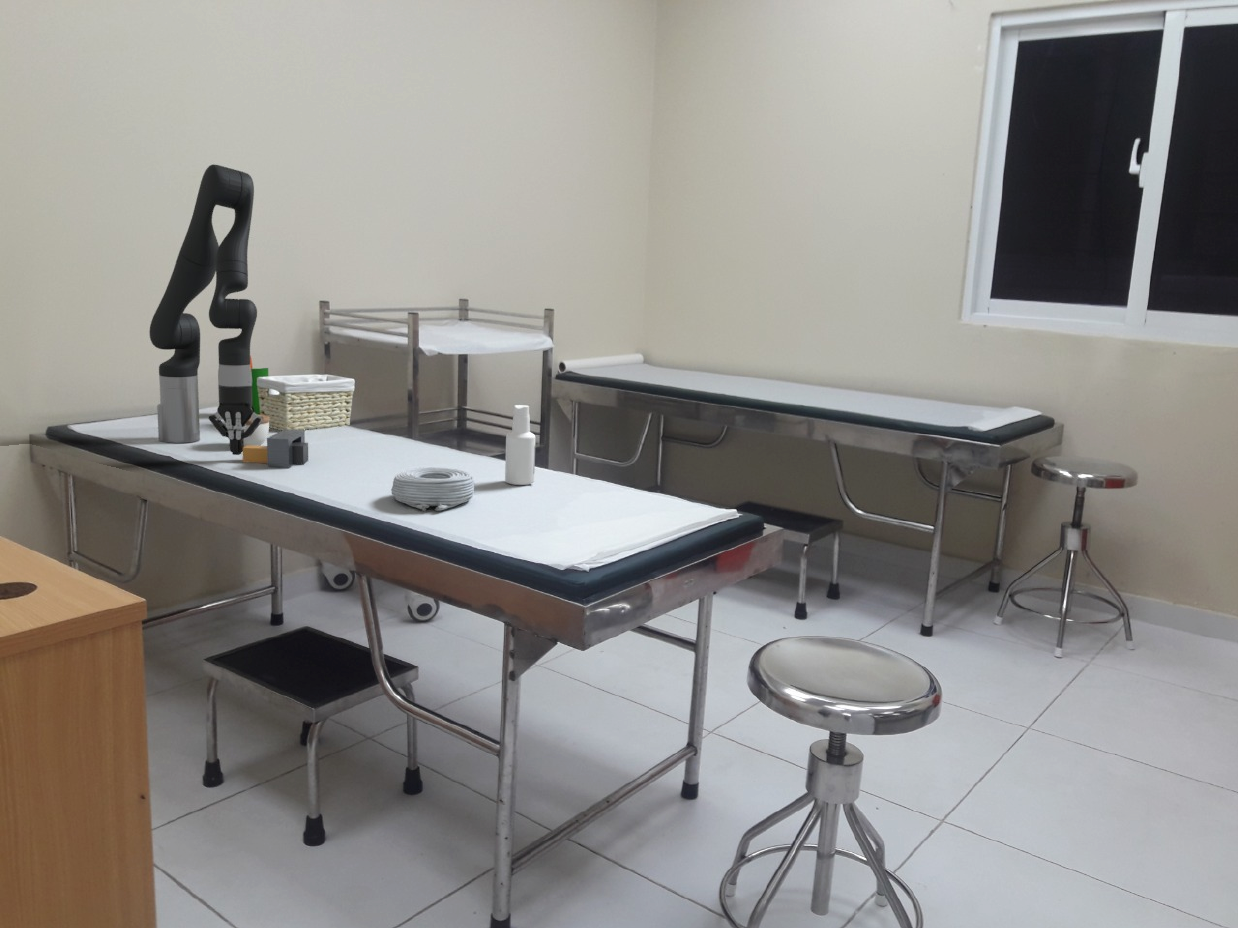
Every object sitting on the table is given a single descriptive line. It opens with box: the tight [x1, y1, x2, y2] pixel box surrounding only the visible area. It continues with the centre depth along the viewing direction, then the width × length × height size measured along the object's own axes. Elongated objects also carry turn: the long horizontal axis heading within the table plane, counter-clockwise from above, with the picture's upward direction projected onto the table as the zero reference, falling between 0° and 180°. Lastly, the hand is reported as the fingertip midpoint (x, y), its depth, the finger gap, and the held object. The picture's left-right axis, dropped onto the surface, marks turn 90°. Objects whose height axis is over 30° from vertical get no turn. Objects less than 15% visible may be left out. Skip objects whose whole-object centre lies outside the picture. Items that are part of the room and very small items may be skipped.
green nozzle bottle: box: [250, 355, 269, 415], centre depth 298 cm, size 10×9×20 cm
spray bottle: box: [504, 404, 536, 486], centre depth 229 cm, size 7×7×18 cm
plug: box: [242, 442, 309, 466], centre depth 240 cm, size 14×5×4 cm, turn 94°
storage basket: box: [257, 374, 356, 431], centre depth 289 cm, size 24×16×15 cm
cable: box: [390, 466, 475, 512], centre depth 210 cm, size 18×18×6 cm
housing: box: [266, 429, 306, 469], centre depth 239 cm, size 5×13×7 cm, turn 1°
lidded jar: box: [225, 415, 270, 447], centre depth 256 cm, size 11×11×9 cm
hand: (237, 454), depth 239 cm, fingers closed
